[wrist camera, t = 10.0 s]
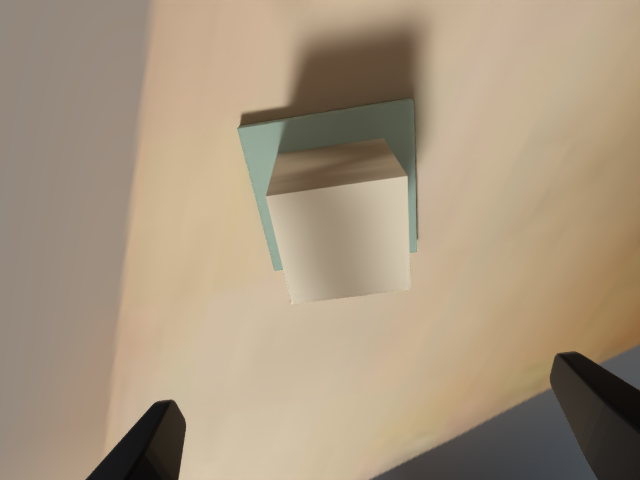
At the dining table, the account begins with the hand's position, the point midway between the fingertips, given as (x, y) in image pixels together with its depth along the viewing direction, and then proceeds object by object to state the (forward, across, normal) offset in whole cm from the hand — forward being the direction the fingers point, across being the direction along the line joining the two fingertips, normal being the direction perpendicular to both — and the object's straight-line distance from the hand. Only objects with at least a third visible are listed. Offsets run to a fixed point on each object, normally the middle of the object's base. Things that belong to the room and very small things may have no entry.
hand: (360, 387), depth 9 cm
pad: (+12, 0, 0) cm, 12 cm away
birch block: (+11, 0, 0) cm, 11 cm away
